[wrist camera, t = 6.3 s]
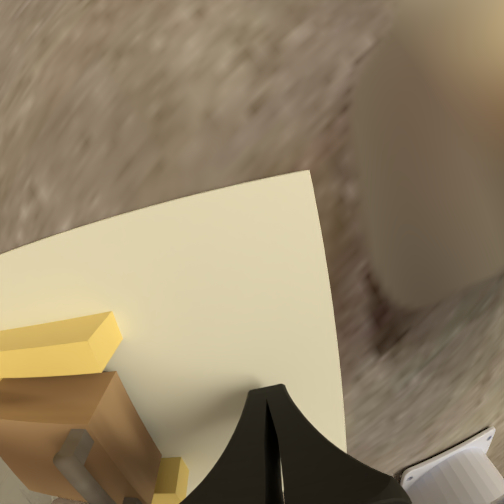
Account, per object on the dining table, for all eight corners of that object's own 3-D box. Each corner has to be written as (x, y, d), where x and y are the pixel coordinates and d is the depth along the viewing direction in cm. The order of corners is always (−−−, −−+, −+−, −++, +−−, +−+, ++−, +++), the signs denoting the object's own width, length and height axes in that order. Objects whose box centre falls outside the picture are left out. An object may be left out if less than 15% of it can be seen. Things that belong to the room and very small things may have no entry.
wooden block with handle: (164, 444, 13) (144, 542, 7) (54, 443, 13) (17, 514, 7) (121, 361, 12) (68, 463, 6) (10, 370, 12) (-50, 437, 6)
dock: (343, 463, 15) (358, 507, 12) (86, 485, 15) (73, 520, 12) (303, 170, 11) (329, 168, 8) (-35, 267, 11) (-78, 288, 8)
